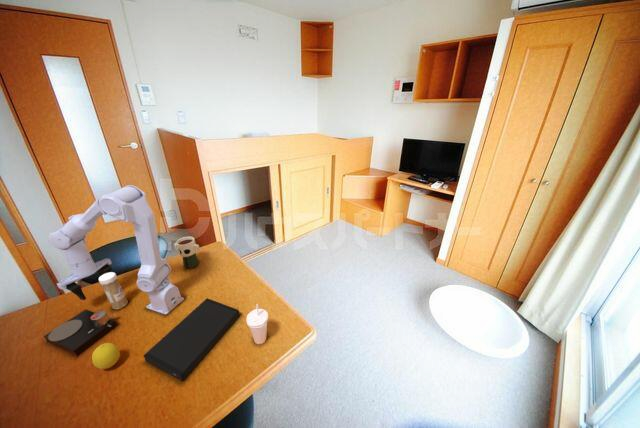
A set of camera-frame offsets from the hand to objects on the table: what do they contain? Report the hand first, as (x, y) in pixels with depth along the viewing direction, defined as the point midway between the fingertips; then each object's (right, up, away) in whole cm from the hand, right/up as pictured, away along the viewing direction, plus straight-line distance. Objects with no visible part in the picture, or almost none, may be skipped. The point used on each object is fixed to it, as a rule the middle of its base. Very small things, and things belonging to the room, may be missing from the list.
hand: (95, 291), depth 85 cm
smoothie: (+61, -12, -10) cm, 63 cm away
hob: (+6, -10, -9) cm, 15 cm away
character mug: (+22, +4, +23) cm, 32 cm away
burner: (+1, -9, -11) cm, 14 cm away
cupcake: (+10, -7, -9) cm, 15 cm away
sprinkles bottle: (+8, -6, +1) cm, 10 cm away
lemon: (+22, -15, -18) cm, 32 cm away
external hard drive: (+42, -11, -10) cm, 44 cm away
